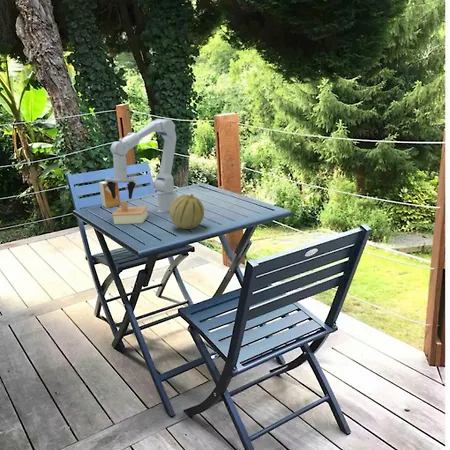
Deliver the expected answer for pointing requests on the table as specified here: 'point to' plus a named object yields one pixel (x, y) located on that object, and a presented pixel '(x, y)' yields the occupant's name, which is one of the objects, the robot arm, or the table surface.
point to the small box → (109, 195)
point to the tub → (130, 218)
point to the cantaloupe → (186, 211)
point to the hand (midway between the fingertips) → (122, 198)
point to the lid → (129, 210)
